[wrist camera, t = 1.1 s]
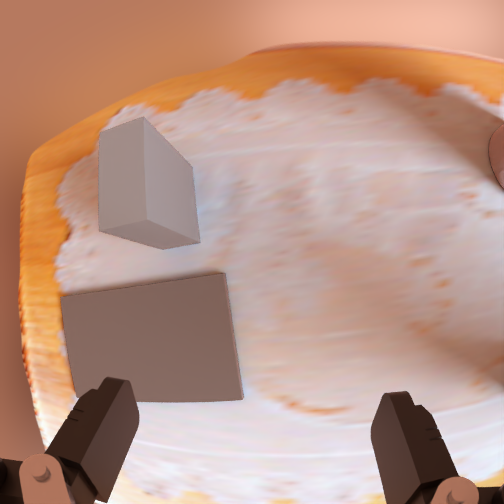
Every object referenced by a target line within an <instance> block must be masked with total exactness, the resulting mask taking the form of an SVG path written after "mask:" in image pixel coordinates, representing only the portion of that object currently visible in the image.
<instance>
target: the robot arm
mask: <svg viewBox="0 0 504 504" xmlns="http://www.w3.org/2000/svg"><path fill="white" fill-rule="evenodd" d="M489 158H490V162H491V166H492V169H493V171H494V174H495V176H496V178H497V180H498V181H499V183H500V185H501V186H502V187H503V188H504V124H503V125H502V126H501V127H500V128H499V129H497V130H496V131H495V132H494V134H493V135H492V137H491V139H490V143H489ZM138 425H139V410H138V407H137V403H136V400H135V396H134V393H133V389H132V385H131V383H130V381H129V380H124V379H118V378H113V377H106V378H105V379H104V380H103V382H102V383H101V385H100V386H99V388H98V390H97V389H90V390H89V391H88V392H86V393H85V394H84V395H82V396H81V397H80V398H79V400H78V401H77V403H76V404H75V406H74V407H73V410H71V412H70V414H69V415H68V418H67V419H66V420H65V421H64V423H63V425H62V426H61V428H60V429H59V431H58V432H57V434H56V436H55V437H54V439H53V441H52V442H51V444H50V445H49V447H48V449H47V450H46V452H45V453H44V454H35V455H32V456H29V457H28V458H26V459H25V460H24V461H15V460H8V459H1V458H0V504H94V501H95V500H98V501H101V502H105V503H107V502H108V499H109V497H110V494H111V492H112V489H113V487H114V484H115V482H116V479H117V477H118V474H119V472H120V470H121V467H122V465H123V462H124V460H125V457H126V455H127V453H128V450H129V448H130V445H131V443H132V441H133V438H134V436H135V434H136V431H137V429H138ZM441 437H442V436H441V434H440V432H439V429H437V425H436V423H435V421H434V419H433V416H432V415H431V414H430V413H429V412H428V411H427V410H426V409H425V408H424V407H423V406H422V405H414V403H413V400H412V398H411V396H410V394H409V393H408V392H407V391H402V392H391V393H385V394H384V395H383V396H382V399H381V401H380V404H379V407H378V410H377V412H376V415H375V418H374V420H373V423H372V426H371V441H372V445H373V449H374V453H375V457H376V461H377V465H378V469H379V473H380V477H381V481H382V485H383V490H384V494H385V498H386V503H387V504H504V484H503V485H502V486H501V487H476V486H475V484H474V483H473V482H472V481H470V480H468V479H466V478H463V477H460V476H459V475H458V473H457V471H456V468H455V466H454V463H453V461H452V459H451V456H450V454H449V452H448V449H447V447H446V445H445V443H444V440H443V439H442V438H441Z"/></svg>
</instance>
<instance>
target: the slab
mask: <svg viewBox="0 0 504 504" xmlns="http://www.w3.org/2000/svg"><path fill="white" fill-rule="evenodd" d="M98 215H99V231H100V232H104V233H107V234H111V235H114V236H117V237H121V238H124V239H128V240H131V241H135V242H138V243H142V244H145V245H149V246H152V247H156V248H159V249H163V250H164V249H169V248H175V247H180V246H186V245H191V244H196V243H200V235H199V227H198V218H197V208H196V199H195V189H194V179H193V168H192V166H191V165H190V164H189V163H188V162H187V161H186V160H185V159H184V158H183V156H182V155H181V154H180V153H179V152H178V151H177V150H176V149H175V148H174V147H173V146H172V145H171V144H170V143H169V142H168V141H167V140H166V139H165V138H164V137H163V136H162V135H161V134H160V133H159V132H158V131H157V130H156V129H155V128H154V127H153V126H152V125H151V123H150V122H149V121H148V120H147V119H146V118H145V117H141V118H138V119H135V120H132V121H130V122H127V123H124V124H121V125H119V126H116V127H113V128H111V129H108V130H105V131H103V132H100V139H99V165H98Z"/></svg>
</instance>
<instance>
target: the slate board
mask: <svg viewBox="0 0 504 504" xmlns="http://www.w3.org/2000/svg"><path fill="white" fill-rule="evenodd" d="M61 307H62V316H63V324H64V331H65V338H66V345H67V351H68V357H69V362H70V368H71V373H72V378H73V383H74V387H75V392H76V396H77V398H80V397H81V396H82V395H84V394H85V393H86V392H88V391H89V390H90V389H97V390H98V388H99V386H100V385H101V383H102V382H103V380H104V379H105V378H106V377H113V378H118V379H124V380H129V381H130V383H131V385H132V389H133V393H134V396H135V400H136V402H214V401H234V400H243V398H244V394H243V388H242V382H241V376H240V370H239V363H238V357H237V350H236V344H235V337H234V331H233V324H232V317H231V310H230V303H229V296H228V289H227V282H226V275H225V273H221V274H214V275H208V276H201V277H195V278H188V279H181V280H175V281H168V282H161V283H155V284H148V285H141V286H134V287H127V288H120V289H113V290H106V291H99V292H92V293H85V294H78V295H70V296H63V297H61Z"/></svg>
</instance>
